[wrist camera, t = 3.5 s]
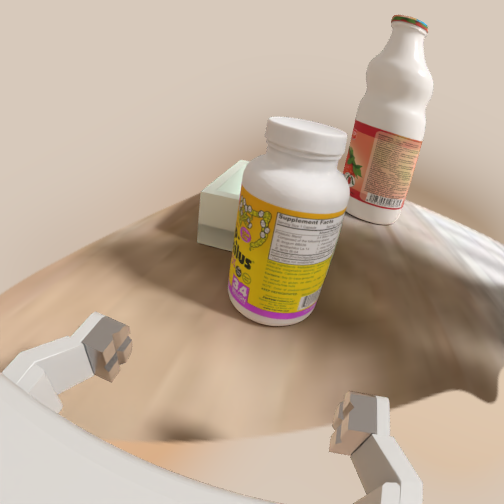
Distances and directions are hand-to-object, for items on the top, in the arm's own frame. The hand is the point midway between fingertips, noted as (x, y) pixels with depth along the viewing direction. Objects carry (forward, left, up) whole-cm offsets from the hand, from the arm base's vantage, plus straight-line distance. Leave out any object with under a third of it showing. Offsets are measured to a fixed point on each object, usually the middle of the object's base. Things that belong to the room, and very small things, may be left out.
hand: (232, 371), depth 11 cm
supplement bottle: (0, -12, -6) cm, 14 cm away
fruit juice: (-9, -36, -6) cm, 38 cm away
